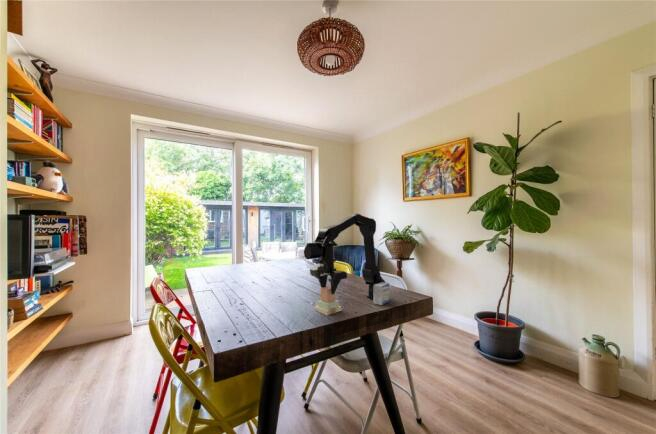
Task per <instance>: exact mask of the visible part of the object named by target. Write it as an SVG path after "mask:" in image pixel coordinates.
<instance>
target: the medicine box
mask: <svg viewBox="0 0 656 434" xmlns="http://www.w3.org/2000/svg"><path fill="white" fill-rule="evenodd" d="M373 296H374V297H373V299H372V300H373V304H375V305H379V306H383V305H385V304H386V303H389V301H390V283H389V282H386V281H385V282H380V283H378V284H376V285H374V286H373Z"/></svg>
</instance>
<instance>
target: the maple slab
mask: <svg viewBox="0 0 656 434" xmlns="http://www.w3.org/2000/svg"><path fill="white" fill-rule="evenodd" d="M342 309H343V308H342V306H341V305H339V307H336V308H333V309H330V310H326V309H323V308H320V307H318V305H316V306H315V311H316V312H318V313H320V314H323V315H325V316H329V315H332V314H335V313H338V312H341V311H342Z"/></svg>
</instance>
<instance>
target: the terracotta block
mask: <svg viewBox="0 0 656 434" xmlns="http://www.w3.org/2000/svg"><path fill="white" fill-rule="evenodd" d="M320 300H321V301H323V302H326V303H329V302H332V301H335V300H336V292H335V293H334V294H333V295H332V292H331V285H330V286H329V285H326V287H322V288H321V287H320Z"/></svg>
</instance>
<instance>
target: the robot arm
mask: <svg viewBox="0 0 656 434" xmlns="http://www.w3.org/2000/svg"><path fill="white" fill-rule="evenodd" d="M354 225H355V226H356V227H358V229H359V232H360V234H361V236H362V237H363V247H364V258H365V259H364V260H365V266H364V268H362V269H361V272H362V275H361V276H362V278H363V280H364V282H365V285H368V295H366V298H368V299H372V300H374V299H373V297H374V296H373V286H374V285H376V284H378V283H380V282H386V281H385V280H384V278H383V277H382V276H381V270H380V268H379V267H378V266H377V261H376V249H375V239H374V235H375V234H376V231H377V222H376V220H375V219H374V218H371V217H368V216H364V215H363V214H359V213H351V214H350V215H349V216H347V217H345V218H344V219H342V220H340V221H339V222H337V223H335V224H333V225H329V226H326V227H323V228H320V229H319V230H318V233H317V236H316V237H315V239H314V241H313V242H306V244H305V247H304V249H303V255H304V257H305V259H306V260H314V259H318V262H317V264H315V265H313V266H311V267H310V268H309V273H310V274H309V275H311V277H314V278H316V279H317V280H318V282H319V285H320V289H321V288H322V287H326V286H327V283H328V281H329V283H330V287H331V292H332V295H333V294H334V293H335V294H336V291H337V289H338V286H339V284H340V282H341V281H342V280H344V279H348V273H347V272H346V271H344V270H337V268H336V267H335V262H337V259H336V258H335V253H334V252H335V250H334V247H338V243H336V241H335V240H336V239H337V238H338V237H339V235H340V234H341V233H342V232H344V231H345V230H348V229H349V228H350V227H352V226H354ZM328 276H330V278H329V277H328Z"/></svg>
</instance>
